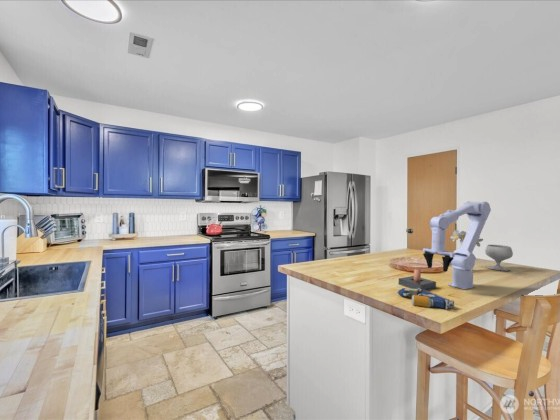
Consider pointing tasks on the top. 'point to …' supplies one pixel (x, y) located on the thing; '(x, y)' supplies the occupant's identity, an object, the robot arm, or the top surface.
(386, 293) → the top surface
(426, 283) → the collar block
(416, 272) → the pin
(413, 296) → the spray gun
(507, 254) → the chalice
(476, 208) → the robot arm
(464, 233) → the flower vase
